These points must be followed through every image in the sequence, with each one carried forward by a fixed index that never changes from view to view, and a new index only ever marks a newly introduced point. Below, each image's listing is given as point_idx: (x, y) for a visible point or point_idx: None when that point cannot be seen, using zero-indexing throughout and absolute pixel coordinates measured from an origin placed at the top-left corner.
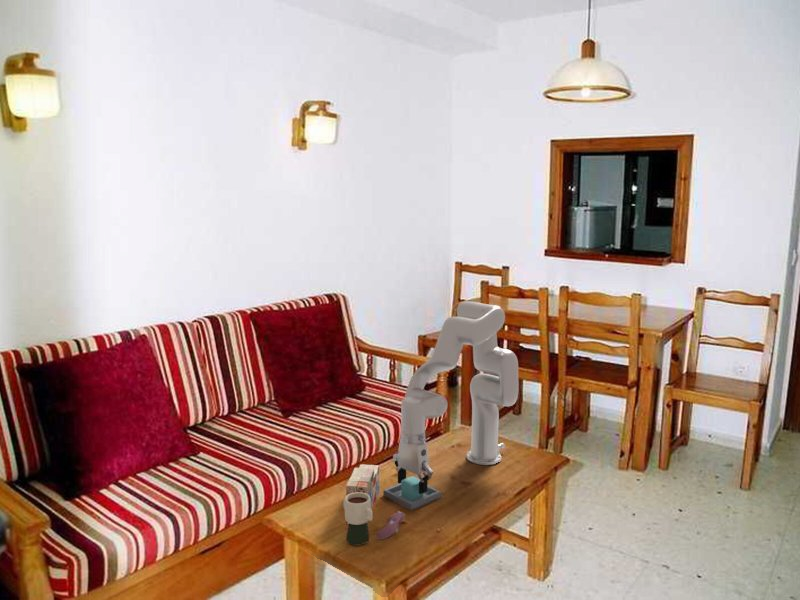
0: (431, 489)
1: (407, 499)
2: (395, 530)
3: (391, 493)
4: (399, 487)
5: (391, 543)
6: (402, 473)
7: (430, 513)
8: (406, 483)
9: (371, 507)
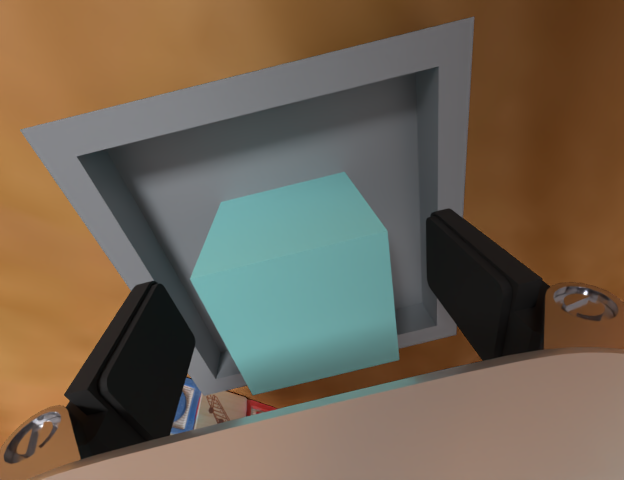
0: (360, 85)
1: None
2: None
3: None
4: (173, 291)
5: None
6: (152, 398)
7: (532, 236)
8: (322, 375)
9: None
